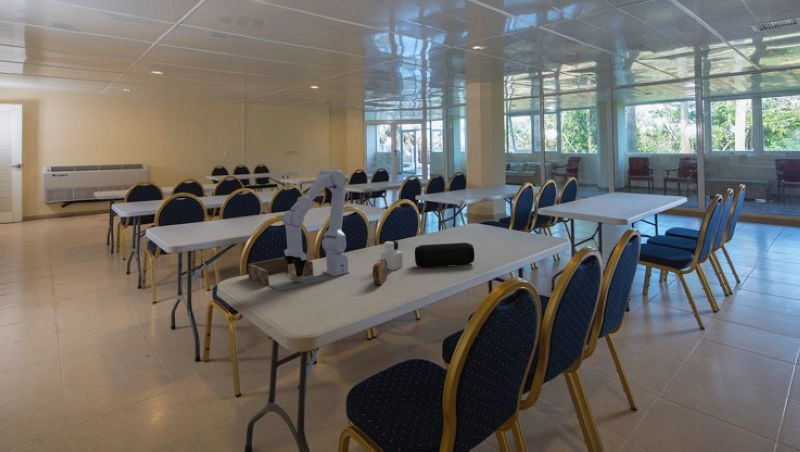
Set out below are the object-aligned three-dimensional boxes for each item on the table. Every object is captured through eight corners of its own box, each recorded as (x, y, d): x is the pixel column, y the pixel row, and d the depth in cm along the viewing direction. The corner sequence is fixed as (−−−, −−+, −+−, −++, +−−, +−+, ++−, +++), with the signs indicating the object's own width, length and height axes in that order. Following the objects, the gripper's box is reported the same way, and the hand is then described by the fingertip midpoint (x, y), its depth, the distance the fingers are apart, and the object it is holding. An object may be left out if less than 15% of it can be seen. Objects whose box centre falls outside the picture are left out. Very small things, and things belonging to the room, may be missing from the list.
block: (304, 279, 173) (303, 264, 172) (294, 281, 170) (293, 266, 169) (299, 276, 177) (298, 262, 176) (288, 279, 174) (287, 264, 173)
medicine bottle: (390, 264, 199) (389, 239, 197) (403, 266, 195) (402, 240, 193) (380, 268, 194) (379, 242, 192) (393, 270, 190) (393, 243, 188)
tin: (379, 287, 166) (379, 266, 165) (371, 287, 167) (371, 266, 165) (388, 276, 181) (388, 256, 179) (381, 276, 181) (380, 256, 180)
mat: (323, 280, 177) (323, 279, 177) (280, 291, 164) (280, 289, 164) (312, 276, 183) (312, 275, 183) (269, 286, 171) (269, 284, 171)
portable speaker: (468, 261, 203) (468, 240, 201) (475, 266, 193) (475, 244, 191) (414, 264, 199) (414, 243, 197) (418, 270, 190) (418, 247, 188)
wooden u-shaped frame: (313, 275, 185) (312, 261, 184) (266, 286, 171) (265, 271, 170) (294, 268, 197) (293, 255, 196) (248, 277, 184) (247, 263, 183)
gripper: (276, 240, 174) (278, 273, 176) (294, 245, 163) (296, 280, 165) (292, 237, 178) (294, 269, 181) (310, 242, 168) (312, 276, 170)
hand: (296, 274), depth 173 cm, fingers closed on block, 4 cm apart
